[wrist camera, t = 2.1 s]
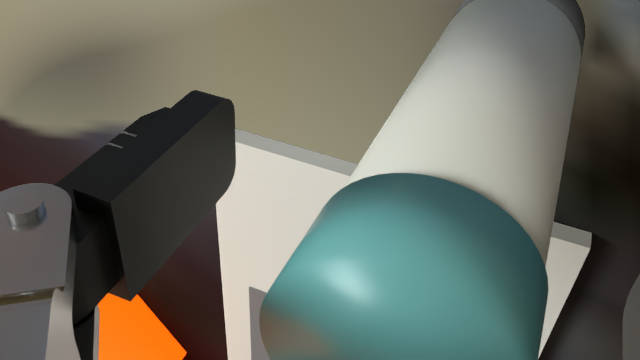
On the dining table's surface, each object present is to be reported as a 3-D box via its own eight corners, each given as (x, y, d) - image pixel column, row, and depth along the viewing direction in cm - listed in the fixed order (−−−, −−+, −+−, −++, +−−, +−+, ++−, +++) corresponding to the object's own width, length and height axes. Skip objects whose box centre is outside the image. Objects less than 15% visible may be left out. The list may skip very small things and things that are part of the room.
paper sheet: (591, 232, 19) (590, 250, 19) (474, 485, 31) (471, 501, 30) (221, 124, 23) (209, 135, 23) (237, 383, 34) (229, 395, 34)
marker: (610, -18, 15) (572, 333, 6) (564, 110, 17) (490, 493, 9) (463, -44, 16) (256, 224, 7) (439, 79, 19) (260, 394, 10)
